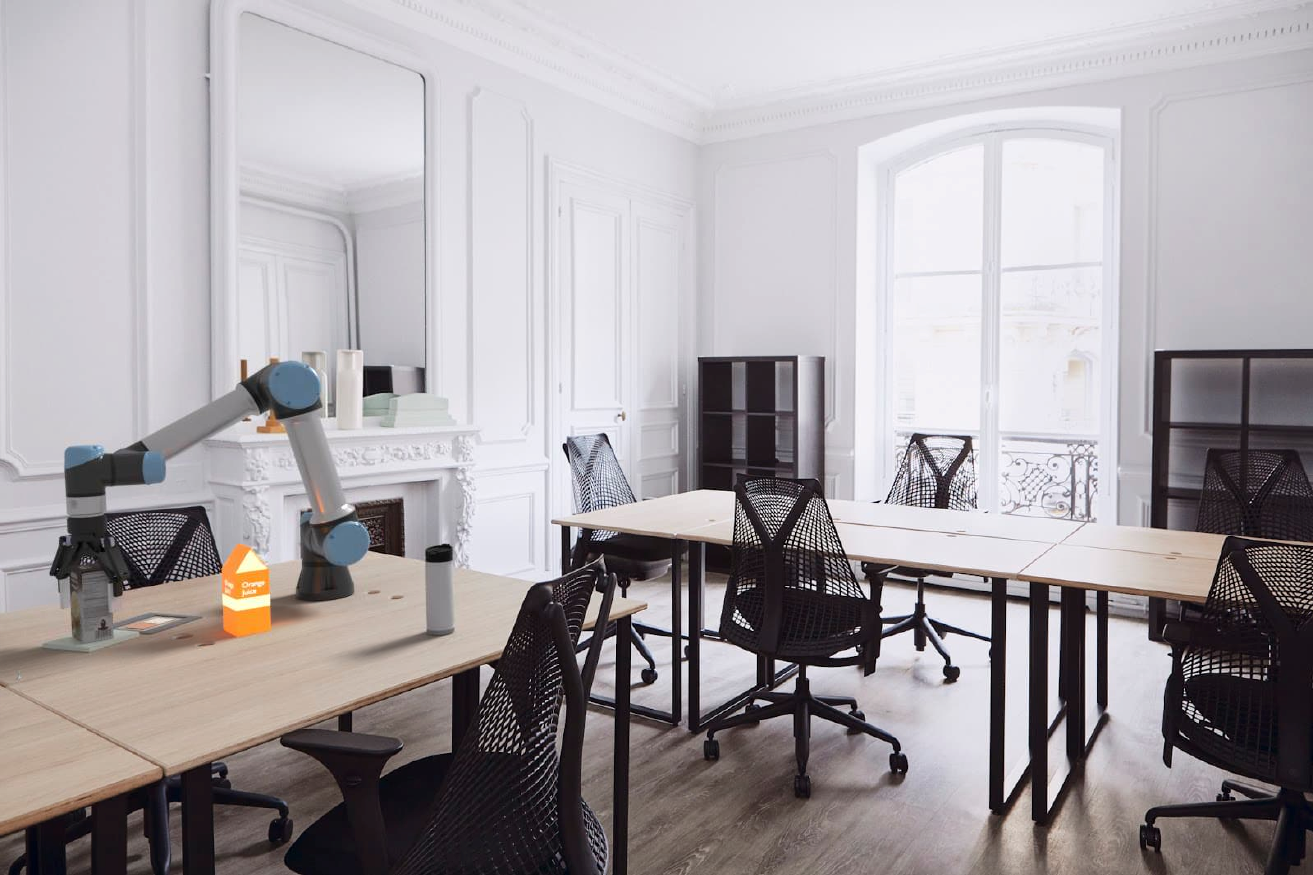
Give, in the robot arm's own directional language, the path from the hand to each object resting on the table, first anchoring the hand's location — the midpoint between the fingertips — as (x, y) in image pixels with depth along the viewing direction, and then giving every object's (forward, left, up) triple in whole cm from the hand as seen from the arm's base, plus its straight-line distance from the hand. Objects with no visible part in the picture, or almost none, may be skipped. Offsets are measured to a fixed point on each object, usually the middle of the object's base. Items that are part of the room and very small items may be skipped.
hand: (91, 609), depth 200 cm
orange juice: (-27, -17, -8) cm, 33 cm away
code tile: (0, -16, -7) cm, 18 cm away
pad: (0, 0, -7) cm, 7 cm away
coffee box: (0, 0, -7) cm, 7 cm away
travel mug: (-72, -27, -8) cm, 77 cm away
